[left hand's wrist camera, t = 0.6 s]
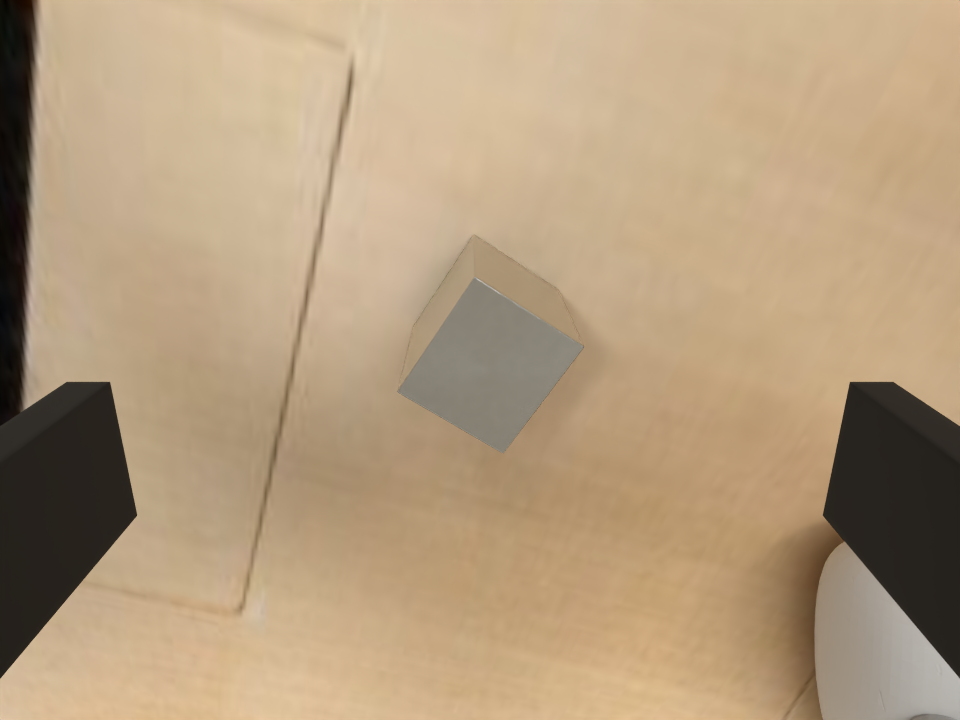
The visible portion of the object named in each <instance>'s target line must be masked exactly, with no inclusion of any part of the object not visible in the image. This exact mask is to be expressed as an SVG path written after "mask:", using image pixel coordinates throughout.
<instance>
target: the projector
mask: <svg viewBox="0 0 960 720" xmlns="http://www.w3.org/2000/svg"><path fill="white" fill-rule="evenodd" d="M815 669H816V682H817V690H818V697H819V703H820V709H821V714H822V718H823V720H960V678H959V677H958V676H957V675H956V674H955V672H954V671H953V670H952V669H951V668H950V666H949V665H948V664H947V663H946V662H945V660H944V659H943V658H942V657H941V656H940V654H939V653H938V652H937V651H936V650H935V648H934V647H933V646H932V645H931V644H930V643H929V641H928V640H927V639H926V638H925V637H924V635H923V634H922V633H921V632H920V631H919V629H918V628H917V627H916V626H915V625H914V623H913V622H912V621H911V620H910V619H909V618H908V616H907V615H906V614H905V613H904V612H903V610H902V609H901V608H900V607H899V606H898V604H897V603H896V602H895V601H894V600H893V598H892V597H891V596H890V595H889V594H888V592H887V591H886V590H885V589H884V588H883V587H882V585H881V584H880V583H879V582H878V581H877V579H876V578H875V577H874V576H873V575H872V573H871V572H870V571H869V570H868V569H867V567H866V566H865V565H864V564H863V563H862V562H861V560H860V559H859V558H858V557H857V556H856V554H855V553H854V552H853V551H852V550H851V548H850V547H849V546H848V545H847V544H846V542H845V541H844V542H843V543H841V544H840V545H839V546H837V547H836V548H835V549H834V550H833V552H832V553H831V554H830V555H829V557H828V559H827V560H826V562H825V564H824V567H823V570H822V573H821V577H820V580H819V586H818V591H817V599H816V609H815Z"/></svg>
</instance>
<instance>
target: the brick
mask: <svg viewBox="0 0 960 720" xmlns="http://www.w3.org/2000/svg"><path fill="white" fill-rule="evenodd" d="M583 348H584V345H583V343H582V341H581V339H580V336H579V334H578V332H577V330H576V327H575V325H574V323H573V321H572V318H571V316H570V314H569V312H568V310H567V307H566V305H565V303H564V301H563V298H562V296H561V294H560V292H559V290H558V289H556V288H555V287H553V286H552V285H550V284H549V283H547V282H546V281H544V280H543V279H541V278H540V277H538V276H537V275H535V274H534V273H532V272H531V271H529V270H527V269H526V268H524V267H523V266H521V265H520V264H518V263H517V262H515V261H514V260H512V259H511V258H509V257H508V256H506V255H505V254H503V253H502V252H500V251H498V250H497V249H495V248H494V247H492V246H491V245H489V244H488V243H486V242H485V241H483V240H482V239H480V238H479V237H477V236H476V235H473V236H472V238H471V239H470V241H469V242H468V244H467V245H466V247H465V248H464V250H463V251H462V253H461V255H460V256H459V258H458V259H457V261H456V262H455V264H454V265H453V267H452V268H451V270H450V271H449V273H448V274H447V276H446V277H445V279H444V280H443V282H442V283H441V285H440V286H439V288H438V290H437V291H436V293H435V294H434V296H433V297H432V299H431V300H430V302H429V303H428V305H427V306H426V308H425V309H424V311H423V312H422V314H421V315H420V317H419V318H418V320H417V322H416V323H415V325H414V326H413V330H412V334H411V338H410V342H409V346H408V351H407V355H406V359H405V363H404V367H403V371H402V375H401V379H400V383H399V387H398V391H397V392H398V393H400V394H402V395H403V396H405V397H407V398H408V399H410V400H412V401H414V402H415V403H417V404H419V405H421V406H422V407H424V408H426V409H427V410H429V411H431V412H433V413H434V414H436V415H438V416H439V417H441V418H443V419H445V420H446V421H448V422H450V423H452V424H453V425H455V426H457V427H458V428H460V429H462V430H464V431H465V432H467V433H469V434H470V435H472V436H474V437H476V438H477V439H479V440H481V441H482V442H484V443H486V444H488V445H489V446H491V447H493V448H495V449H496V450H498V451H500V452H501V453H504V452H505V451H506V449H507V448H508V447H509V445H510V444H511V443H512V441H513V440H514V439H515V437H516V436H517V435H518V433H519V432H520V431H521V430H522V428H523V427H524V426H525V424H526V423H527V422H528V420H529V419H530V418H531V416H532V415H533V414H534V412H535V411H536V410H537V408H538V407H539V406H540V404H541V403H542V402H543V401H544V399H545V398H546V397H547V395H548V394H549V393H550V391H551V390H552V389H553V387H554V386H555V385H556V383H557V382H558V381H559V379H560V378H561V377H562V375H563V374H564V373H565V372H566V370H567V369H568V368H569V366H570V365H571V364H572V362H573V361H574V360H575V358H576V357H577V356H578V354H579V353H580V352H581V350H582V349H583Z"/></svg>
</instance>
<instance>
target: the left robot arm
mask: <svg viewBox="0 0 960 720" xmlns="http://www.w3.org/2000/svg"><path fill="white" fill-rule="evenodd" d="M136 516H137V512H136V508H135V503H134V498H133V493H132V488H131V483H130V478H129V473H128V468H127V463H126V458H125V453H124V448H123V444H122V439H121V434H120V429H119V424H118V419H117V414H116V409H115V404H114V399H113V394H112V389H111V385H110V382H66V383H65V384H63V385H62V386H60V387H59V388H57V389H56V390H54V391H53V392H51V393H50V394H48V395H47V396H45V397H44V398H42V399H41V400H39V401H38V402H36V403H35V404H33V405H32V406H30V407H29V408H27V409H26V410H24V411H23V412H21V413H20V414H18V415H17V416H15V417H14V418H12V419H11V420H9V421H8V422H6V423H5V424H3V425H2V426H0V678H1V677H2V676H3V675H4V674H5V672H6V671H7V670H8V669H9V668H10V666H11V665H12V664H13V663H14V662H15V660H16V659H17V658H18V657H19V656H20V654H21V653H22V652H23V651H24V650H25V648H26V647H27V646H28V645H29V644H30V643H31V641H32V640H33V639H34V638H35V637H36V635H37V634H38V633H39V632H40V631H41V629H42V628H43V627H44V626H45V625H46V623H47V622H48V621H49V620H50V619H51V618H52V616H53V615H54V614H55V613H56V612H57V610H58V609H59V608H60V607H61V606H62V604H63V603H64V602H65V601H66V600H67V598H68V597H69V596H70V595H71V594H72V592H73V591H74V590H75V589H76V588H77V587H78V585H79V584H80V583H81V582H82V581H83V579H84V578H85V577H86V576H87V575H88V573H89V572H90V571H91V570H92V569H93V567H94V566H95V565H96V564H97V563H98V562H99V560H100V559H101V558H102V557H103V556H104V554H105V553H106V552H107V551H108V550H109V548H110V547H111V546H112V545H113V544H114V542H115V541H116V540H117V539H118V538H119V536H120V535H121V534H122V533H123V532H124V531H125V529H126V528H127V527H128V526H129V525H130V523H131V522H132V521H133V520H134V519H135V517H136ZM823 516H824V517H825V519H826V520H827V521H828V522H829V523H830V525H831V526H832V527H833V528H834V529H835V531H836V532H837V533H838V534H839V535H840V536H841V538H842V539H843V540H844V541H845V542H846V544H847V545H848V546H849V547H850V548H851V550H852V551H853V552H854V553H855V554H856V556H857V557H858V558H859V559H860V560H861V562H862V563H863V564H864V565H865V566H866V567H867V569H868V570H869V571H870V572H871V573H872V575H873V576H874V577H875V578H876V579H877V581H878V582H879V583H880V584H881V585H882V587H883V588H884V589H885V590H886V591H887V592H888V594H889V595H890V596H891V597H892V598H893V600H894V601H895V602H896V603H897V604H898V606H899V607H900V608H901V609H902V610H903V612H904V613H905V614H906V615H907V616H908V618H909V619H910V620H911V621H912V622H913V623H914V625H915V626H916V627H917V628H918V629H919V631H920V632H921V633H922V634H923V635H924V637H925V638H926V639H927V640H928V641H929V643H930V644H931V645H932V646H933V647H934V648H935V650H936V651H937V652H938V653H939V654H940V656H941V657H942V658H943V659H944V660H945V662H946V663H947V664H948V665H949V666H950V668H951V669H952V670H953V671H954V672H955V674H956V675H957V676H958V677H959V678H960V426H958V425H957V424H955V423H954V422H952V421H951V420H949V419H948V418H946V417H945V416H943V415H942V414H940V413H939V412H937V411H936V410H934V409H933V408H931V407H930V406H928V405H927V404H925V403H924V402H922V401H921V400H919V399H918V398H916V397H915V396H913V395H912V394H910V393H909V392H907V391H906V390H904V389H903V388H901V387H900V386H898V385H897V384H895V383H894V382H850V385H849V389H848V394H847V399H846V404H845V409H844V414H843V419H842V424H841V429H840V434H839V439H838V444H837V448H836V453H835V458H834V463H833V468H832V473H831V478H830V483H829V488H828V493H827V498H826V503H825V508H824V512H823Z"/></svg>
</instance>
